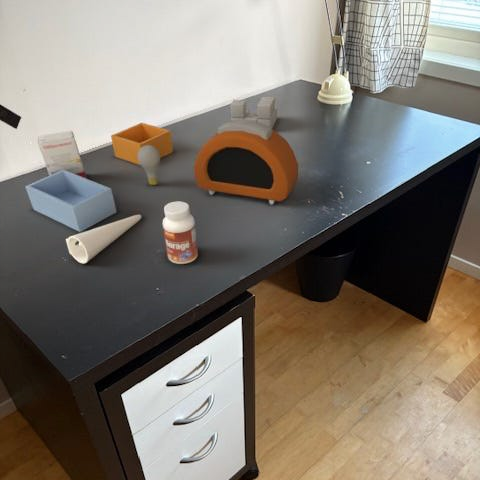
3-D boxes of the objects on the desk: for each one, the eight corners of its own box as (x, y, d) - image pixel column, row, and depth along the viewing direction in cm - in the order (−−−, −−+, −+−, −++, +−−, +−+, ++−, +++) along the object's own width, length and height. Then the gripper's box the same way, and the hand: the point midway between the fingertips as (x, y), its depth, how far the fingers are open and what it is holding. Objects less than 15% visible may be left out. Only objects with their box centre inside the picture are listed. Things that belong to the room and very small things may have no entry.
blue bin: (33, 209, 113) (25, 186, 109) (70, 192, 119) (63, 169, 115) (80, 232, 105) (72, 207, 101) (116, 212, 111) (111, 188, 107)
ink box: (85, 174, 126) (73, 129, 118) (87, 182, 123) (75, 136, 115) (51, 180, 124) (36, 135, 116) (52, 188, 121) (37, 142, 113)
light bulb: (143, 181, 122) (136, 142, 116) (164, 179, 123) (158, 140, 116) (142, 190, 118) (134, 151, 112) (164, 189, 119) (158, 149, 112)
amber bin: (115, 156, 134) (110, 135, 130) (145, 143, 141) (141, 122, 137) (143, 166, 129) (139, 144, 125) (173, 151, 135) (170, 130, 131)
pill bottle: (163, 264, 94) (155, 214, 87) (172, 246, 99) (164, 198, 91) (194, 266, 94) (188, 216, 86) (201, 248, 98) (196, 200, 91)
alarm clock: (195, 193, 116) (187, 124, 105) (210, 178, 122) (204, 110, 111) (287, 208, 109) (289, 135, 98) (298, 190, 115) (301, 120, 104)
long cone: (160, 232, 106) (90, 267, 94) (140, 227, 110) (70, 259, 97) (156, 208, 103) (83, 240, 91) (136, 203, 107) (63, 233, 94)
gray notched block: (277, 118, 152) (277, 92, 146) (270, 133, 143) (270, 105, 138) (240, 117, 154) (239, 91, 149) (231, 131, 145) (230, 103, 140)
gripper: (-142, 66, 91) (-35, 122, 110) (-82, 85, 79) (26, 145, 98) (-129, 28, 91) (-23, 91, 109) (-66, 43, 79) (40, 110, 97)
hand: (0, 116), depth 104 cm, fingers open, 13 cm apart
